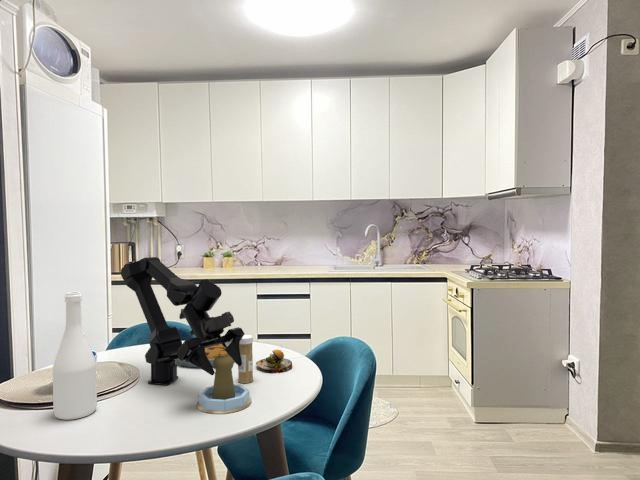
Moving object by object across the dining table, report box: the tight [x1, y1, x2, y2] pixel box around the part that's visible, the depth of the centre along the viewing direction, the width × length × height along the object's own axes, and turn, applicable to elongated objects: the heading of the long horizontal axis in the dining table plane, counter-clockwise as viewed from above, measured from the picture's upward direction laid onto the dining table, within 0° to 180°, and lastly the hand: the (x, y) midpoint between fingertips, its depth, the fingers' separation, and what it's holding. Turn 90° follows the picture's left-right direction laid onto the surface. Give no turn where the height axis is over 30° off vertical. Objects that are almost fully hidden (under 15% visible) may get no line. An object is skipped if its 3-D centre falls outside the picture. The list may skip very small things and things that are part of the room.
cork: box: [212, 356, 235, 400], centre depth 121 cm, size 6×6×11 cm
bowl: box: [198, 383, 250, 411], centre depth 122 cm, size 12×12×2 cm
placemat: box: [196, 395, 252, 415], centre depth 122 cm, size 14×14×1 cm
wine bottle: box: [52, 291, 98, 421], centre depth 115 cm, size 10×10×30 cm
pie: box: [177, 344, 229, 369], centre depth 160 cm, size 22×22×5 cm
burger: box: [255, 346, 293, 374], centre depth 151 cm, size 12×12×8 cm
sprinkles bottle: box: [237, 334, 254, 384], centre depth 138 cm, size 5×5×14 cm
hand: (227, 369), depth 120 cm, fingers open, 9 cm apart
